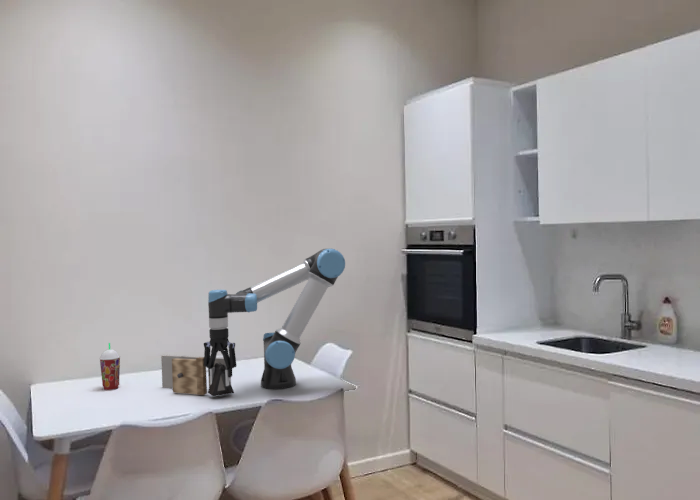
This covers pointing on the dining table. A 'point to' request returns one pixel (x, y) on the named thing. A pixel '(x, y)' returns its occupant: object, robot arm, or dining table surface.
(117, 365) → the smoothie
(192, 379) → the door
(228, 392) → the phone stand
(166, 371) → the wall
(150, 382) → the dining table surface
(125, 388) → the dining table surface
